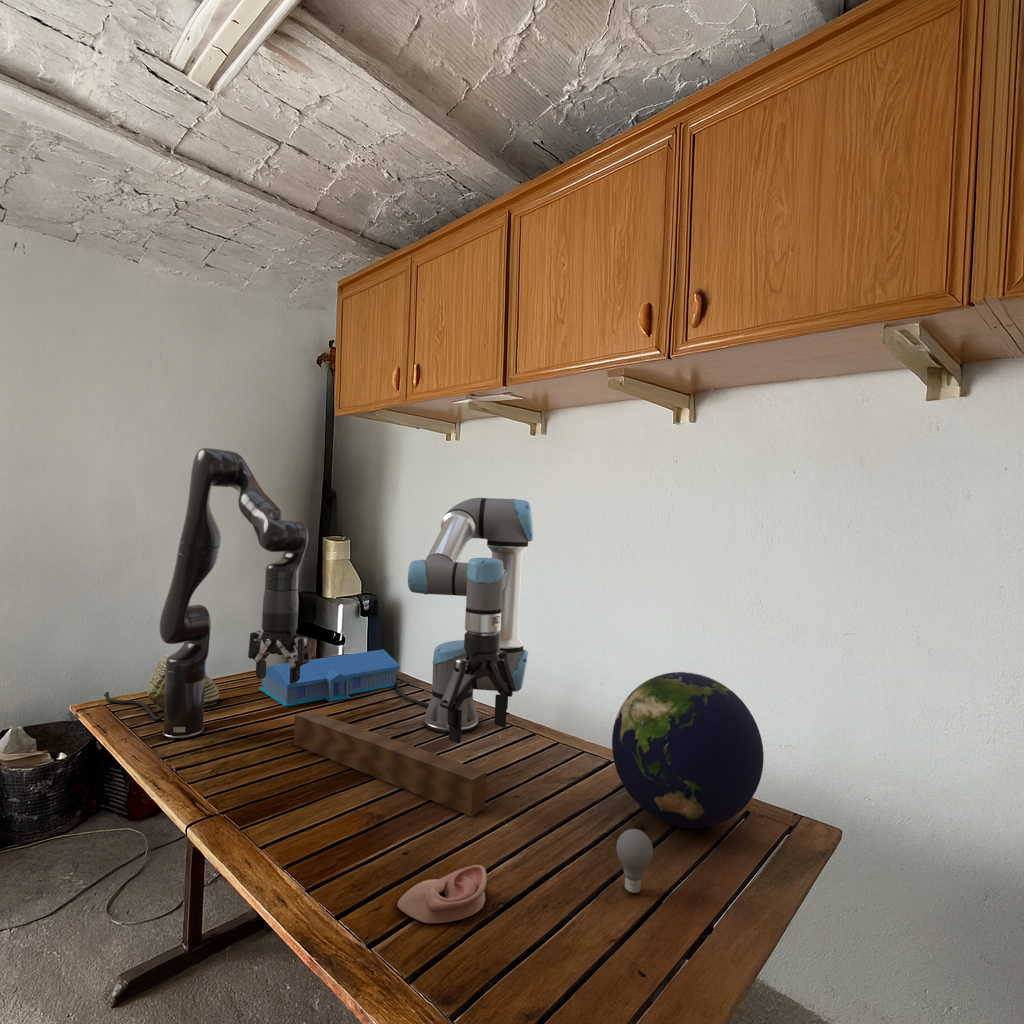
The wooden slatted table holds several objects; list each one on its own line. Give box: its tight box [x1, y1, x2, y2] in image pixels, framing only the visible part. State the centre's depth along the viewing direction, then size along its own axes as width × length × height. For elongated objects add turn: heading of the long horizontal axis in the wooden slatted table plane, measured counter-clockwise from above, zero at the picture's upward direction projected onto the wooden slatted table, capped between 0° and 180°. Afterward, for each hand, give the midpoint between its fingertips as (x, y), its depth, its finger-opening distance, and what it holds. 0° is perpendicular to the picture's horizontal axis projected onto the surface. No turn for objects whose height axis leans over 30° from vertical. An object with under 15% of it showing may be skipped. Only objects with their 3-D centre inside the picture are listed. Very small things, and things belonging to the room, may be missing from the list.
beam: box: [293, 710, 487, 817], centre depth 146 cm, size 57×5×8 cm, turn 56°
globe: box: [611, 671, 765, 829], centre depth 130 cm, size 30×30×30 cm
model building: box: [258, 649, 401, 707], centre depth 208 cm, size 39×24×10 cm, turn 132°
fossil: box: [147, 654, 221, 712], centre depth 185 cm, size 9×18×15 cm, turn 132°
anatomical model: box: [396, 864, 488, 925], centre depth 101 cm, size 13×4×12 cm
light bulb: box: [615, 828, 654, 894], centre depth 106 cm, size 6×6×10 cm
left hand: (277, 680), depth 143 cm, fingers open, 8 cm apart
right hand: (478, 733), depth 133 cm, fingers open, 13 cm apart
